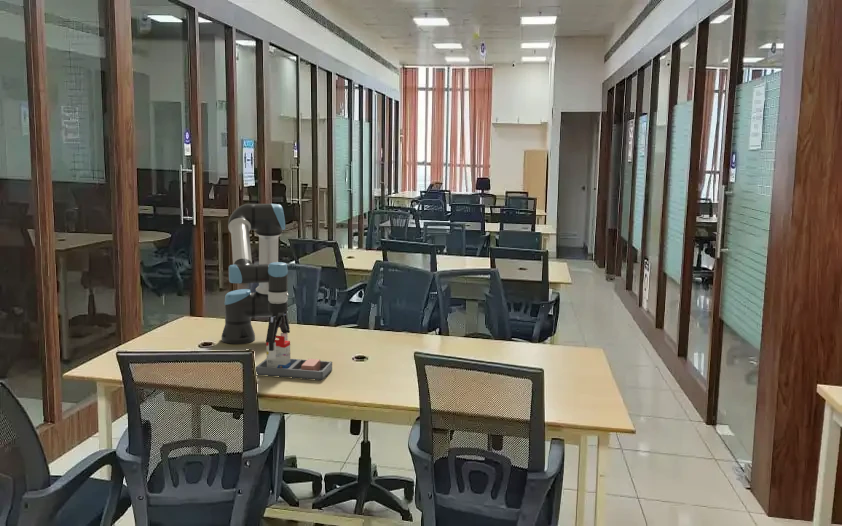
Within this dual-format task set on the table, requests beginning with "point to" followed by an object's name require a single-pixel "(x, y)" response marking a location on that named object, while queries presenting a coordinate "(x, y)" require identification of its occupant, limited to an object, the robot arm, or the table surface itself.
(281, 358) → the ink box
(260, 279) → the robot arm
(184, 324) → the table surface
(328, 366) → the caddy
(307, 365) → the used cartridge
